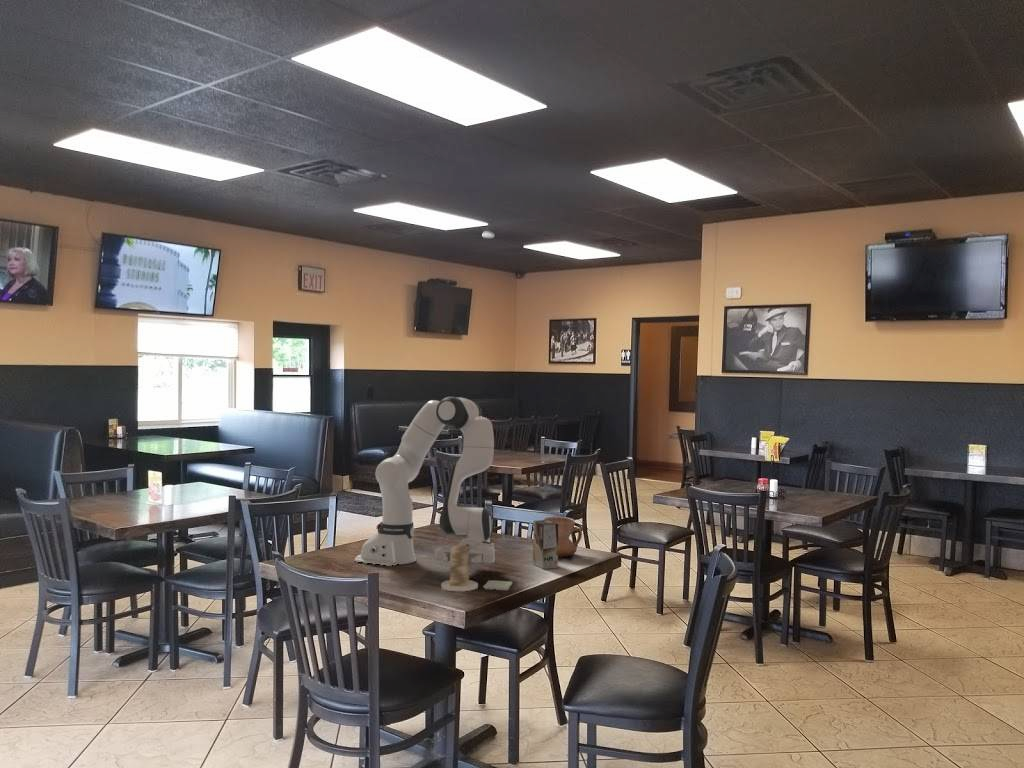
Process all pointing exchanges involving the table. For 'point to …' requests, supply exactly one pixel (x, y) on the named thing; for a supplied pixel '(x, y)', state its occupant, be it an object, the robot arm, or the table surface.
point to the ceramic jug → (566, 535)
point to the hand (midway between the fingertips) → (459, 559)
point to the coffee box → (545, 544)
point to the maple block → (459, 566)
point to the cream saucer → (469, 586)
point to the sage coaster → (497, 585)
